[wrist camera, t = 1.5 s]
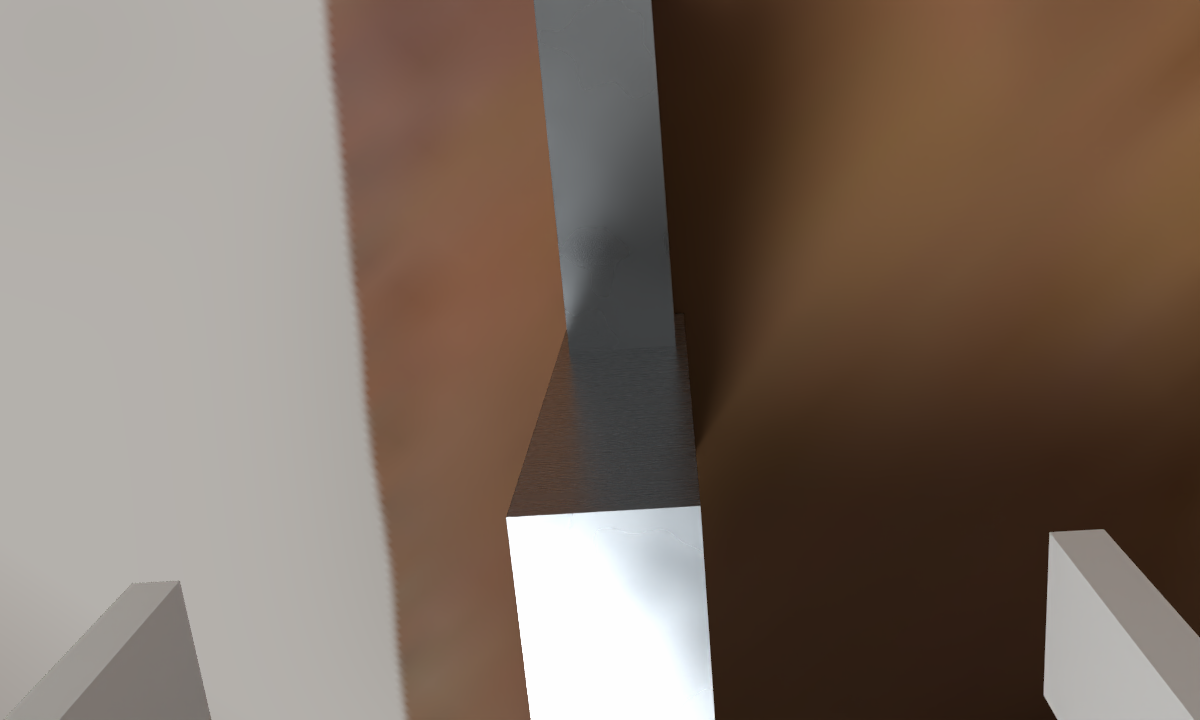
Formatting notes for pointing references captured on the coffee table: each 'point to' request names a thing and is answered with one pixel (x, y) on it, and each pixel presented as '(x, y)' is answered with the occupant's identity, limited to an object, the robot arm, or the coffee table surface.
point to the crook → (611, 403)
